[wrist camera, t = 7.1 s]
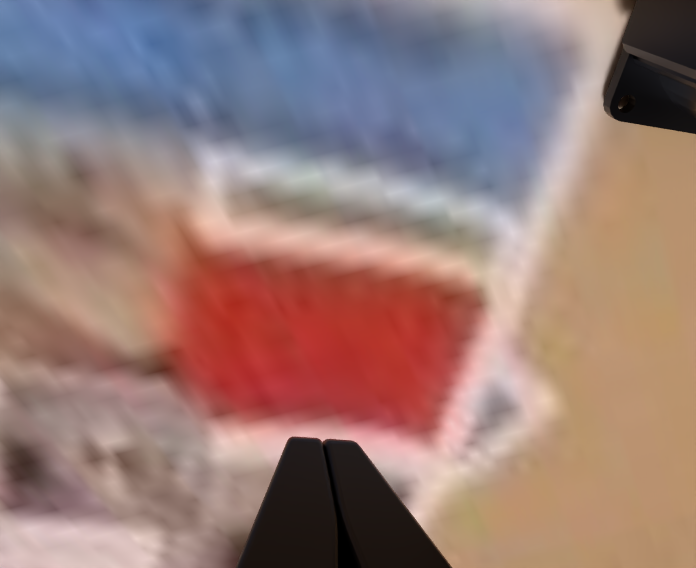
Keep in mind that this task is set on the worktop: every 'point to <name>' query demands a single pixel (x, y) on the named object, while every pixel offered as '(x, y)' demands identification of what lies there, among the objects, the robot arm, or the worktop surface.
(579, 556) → the worktop surface
